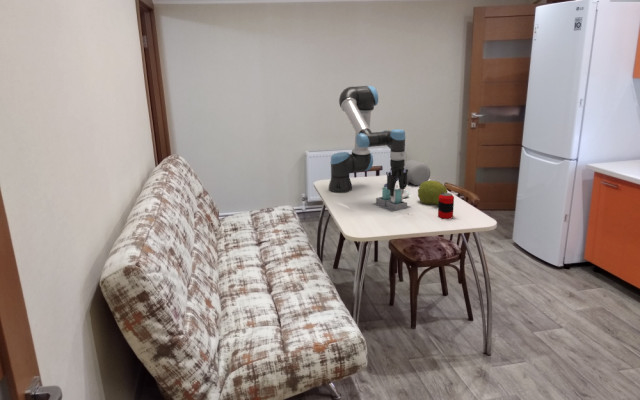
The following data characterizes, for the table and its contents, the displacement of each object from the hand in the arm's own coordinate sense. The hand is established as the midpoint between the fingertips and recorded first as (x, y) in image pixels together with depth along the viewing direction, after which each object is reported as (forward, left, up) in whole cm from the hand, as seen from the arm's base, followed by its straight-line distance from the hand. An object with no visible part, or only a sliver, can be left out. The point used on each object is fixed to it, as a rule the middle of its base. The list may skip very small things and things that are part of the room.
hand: (396, 201), depth 256 cm
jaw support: (-15, +14, -5) cm, 21 cm away
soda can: (+25, +12, -5) cm, 28 cm away
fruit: (+5, +22, -5) cm, 23 cm away
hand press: (-35, +26, -5) cm, 44 cm away
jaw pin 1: (-9, 0, -4) cm, 10 cm away
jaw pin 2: (0, 0, -3) cm, 3 cm away
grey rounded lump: (-40, +45, -5) cm, 61 cm away
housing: (-4, 0, -5) cm, 6 cm away
